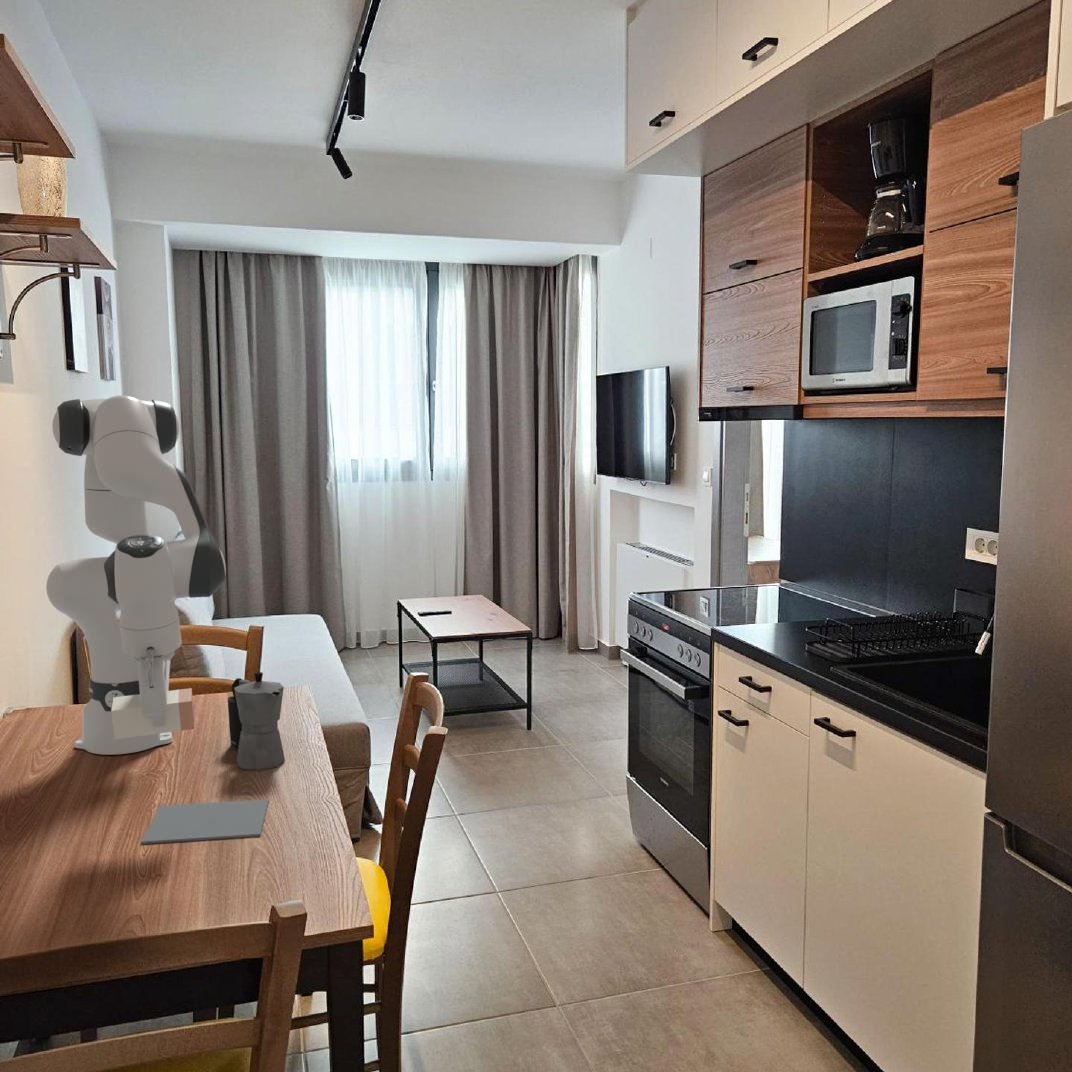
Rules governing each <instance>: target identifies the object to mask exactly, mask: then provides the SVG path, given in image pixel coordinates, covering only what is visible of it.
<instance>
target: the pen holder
mask: <svg viewBox="0 0 1072 1072" xmlns="http://www.w3.org/2000/svg"><path fill="white" fill-rule="evenodd" d="M227 709H228V723H229V724H228V727H229V737H230V745H231V747H232V748H233V749H235V750H237V751H238V747H239V740H240V734H241V731H242V723H241V721H240V719H239V718H238V714H237V710H236V706H235V701H234V696H233V695H231V696H229V697H228V698H227Z"/></svg>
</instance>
